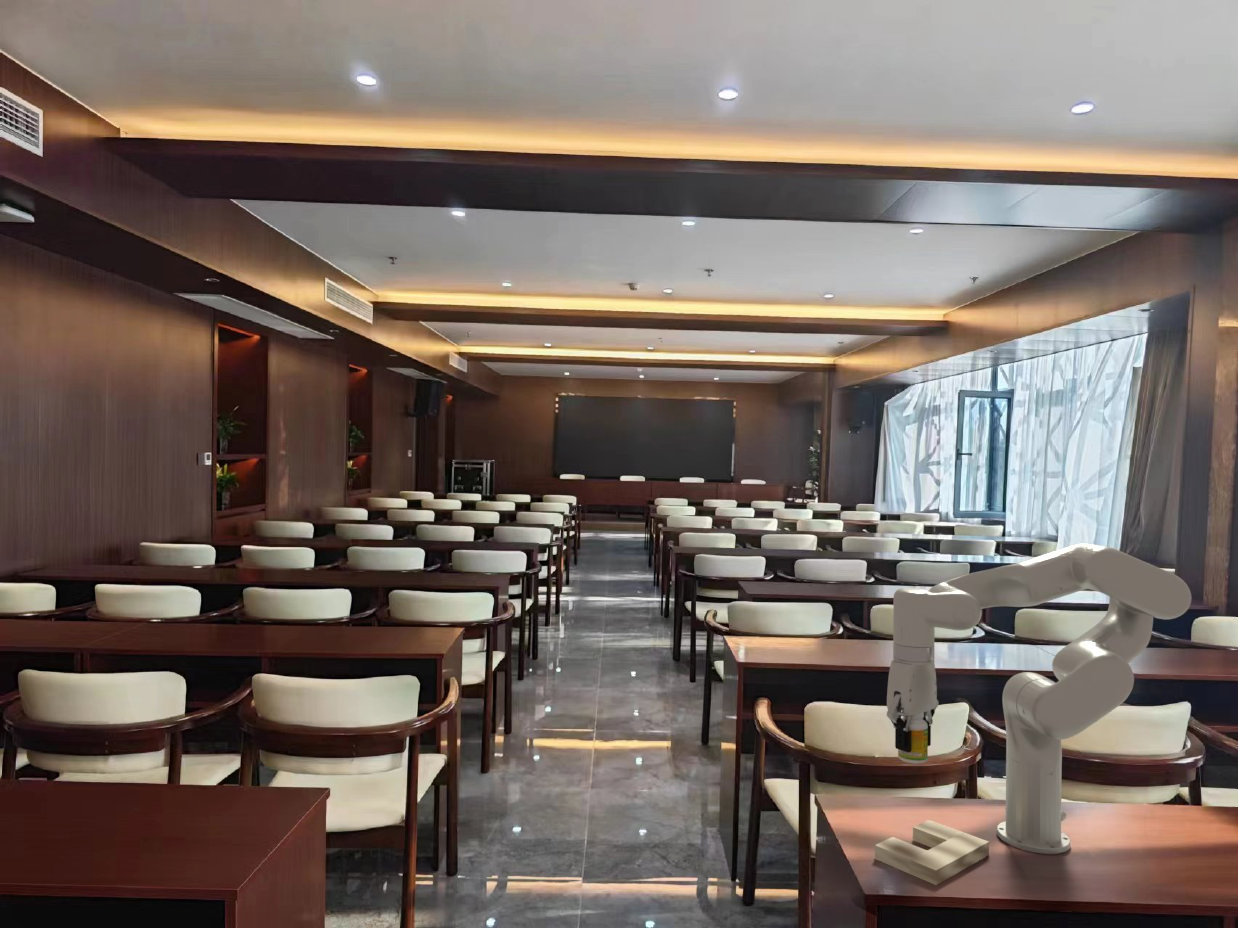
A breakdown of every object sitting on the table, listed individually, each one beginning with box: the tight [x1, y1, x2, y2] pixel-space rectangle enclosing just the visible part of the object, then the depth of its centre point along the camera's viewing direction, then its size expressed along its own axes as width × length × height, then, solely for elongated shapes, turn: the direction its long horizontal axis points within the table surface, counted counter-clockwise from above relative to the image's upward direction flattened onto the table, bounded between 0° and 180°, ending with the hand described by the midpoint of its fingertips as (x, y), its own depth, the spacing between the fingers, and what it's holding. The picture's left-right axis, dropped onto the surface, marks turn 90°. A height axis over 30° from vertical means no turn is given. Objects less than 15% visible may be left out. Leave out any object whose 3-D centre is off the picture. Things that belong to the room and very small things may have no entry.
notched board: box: [874, 819, 990, 886], centre depth 151 cm, size 18×12×2 cm, turn 129°
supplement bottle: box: [897, 710, 929, 764], centre depth 159 cm, size 5×5×10 cm
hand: (913, 746), depth 159 cm, fingers closed on supplement bottle, 5 cm apart
